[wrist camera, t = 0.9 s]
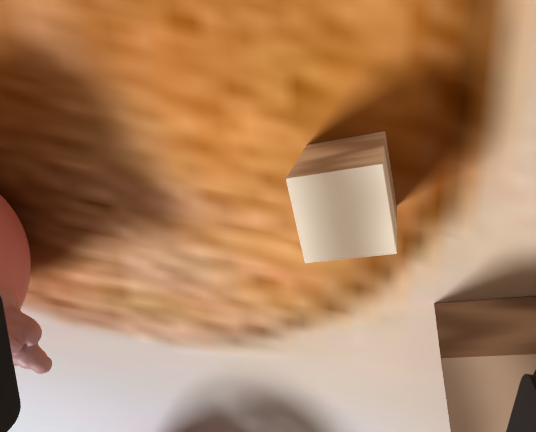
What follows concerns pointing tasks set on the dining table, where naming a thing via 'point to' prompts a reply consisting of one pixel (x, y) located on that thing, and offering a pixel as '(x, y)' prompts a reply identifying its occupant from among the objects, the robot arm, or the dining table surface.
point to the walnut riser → (485, 358)
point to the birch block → (344, 199)
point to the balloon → (18, 293)
